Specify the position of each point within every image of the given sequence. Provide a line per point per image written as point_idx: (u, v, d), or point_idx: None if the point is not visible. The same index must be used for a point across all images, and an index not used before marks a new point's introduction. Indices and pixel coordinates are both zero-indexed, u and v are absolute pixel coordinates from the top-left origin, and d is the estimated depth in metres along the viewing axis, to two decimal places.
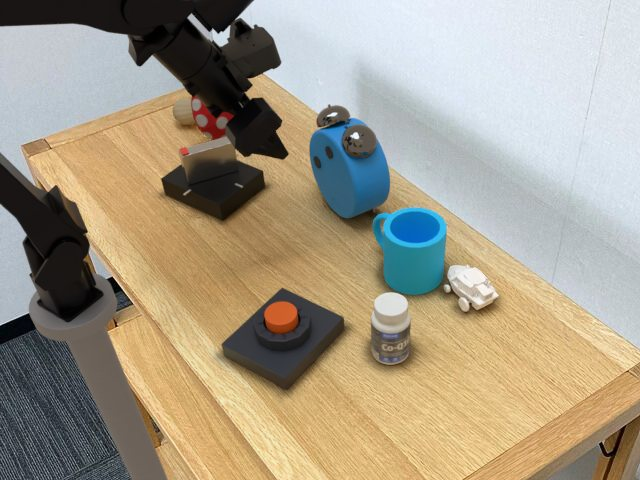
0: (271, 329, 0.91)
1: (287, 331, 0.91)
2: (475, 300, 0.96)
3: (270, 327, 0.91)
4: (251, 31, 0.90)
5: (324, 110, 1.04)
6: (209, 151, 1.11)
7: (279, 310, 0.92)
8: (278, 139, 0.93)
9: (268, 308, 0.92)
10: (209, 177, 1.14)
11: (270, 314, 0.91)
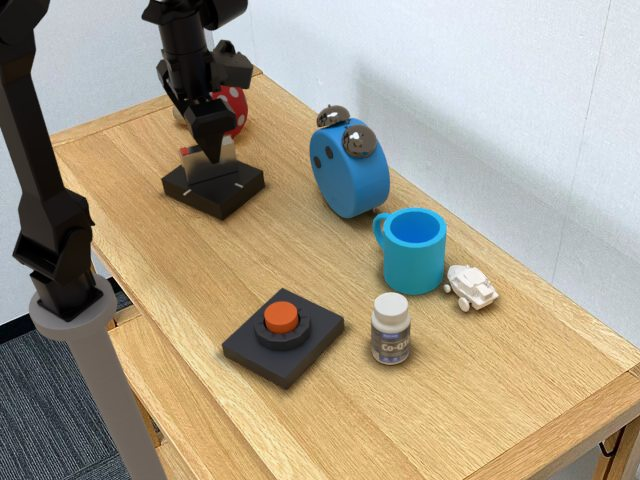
0: (271, 329, 0.91)
1: (287, 331, 0.91)
2: (475, 300, 0.96)
3: (270, 327, 0.91)
4: (235, 54, 1.06)
5: (324, 110, 1.04)
6: None
7: (279, 310, 0.92)
8: (220, 143, 1.05)
9: (268, 308, 0.92)
10: (209, 177, 1.14)
11: (270, 314, 0.91)
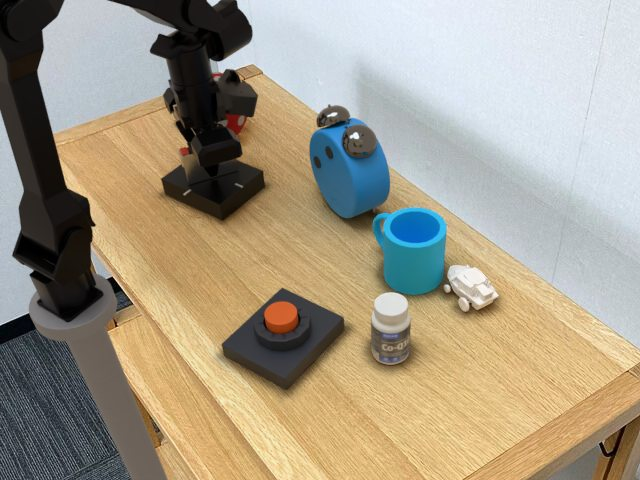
0: (271, 329, 0.91)
1: (287, 331, 0.91)
2: (475, 300, 0.96)
3: (270, 327, 0.91)
4: (240, 83, 1.09)
5: (324, 110, 1.04)
6: None
7: (279, 310, 0.92)
8: None
9: (268, 308, 0.92)
10: (209, 177, 1.14)
11: (270, 314, 0.91)
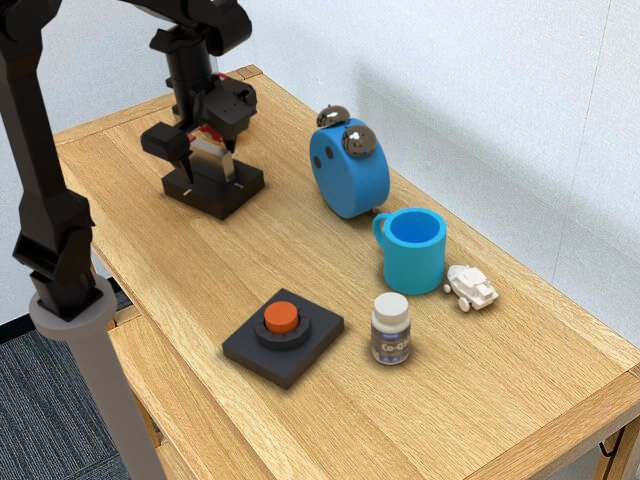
0: (271, 329, 0.91)
1: (287, 331, 0.91)
2: (475, 300, 0.96)
3: (270, 327, 0.91)
4: (244, 105, 1.03)
5: (324, 110, 1.04)
6: (202, 151, 1.11)
7: (279, 310, 0.92)
8: (184, 168, 1.08)
9: (268, 308, 0.92)
10: (203, 174, 1.14)
11: (270, 314, 0.91)
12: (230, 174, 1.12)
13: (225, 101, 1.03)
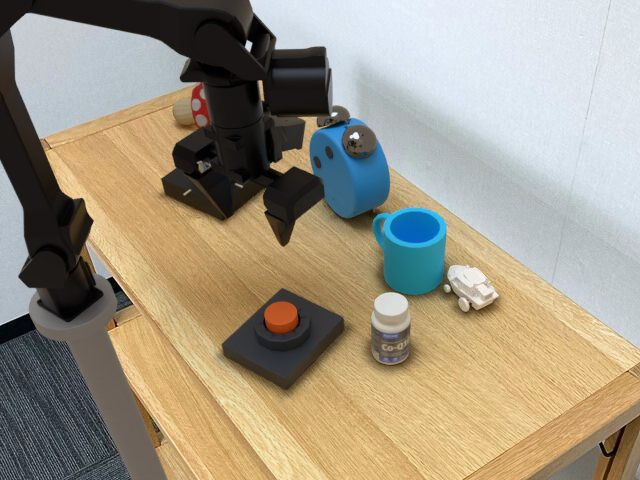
0: (271, 329, 0.91)
1: (287, 331, 0.91)
2: (475, 300, 0.96)
3: (270, 327, 0.91)
4: None
5: None
6: None
7: (279, 310, 0.92)
8: None
9: (268, 308, 0.92)
10: None
11: (270, 314, 0.91)
12: None
13: None
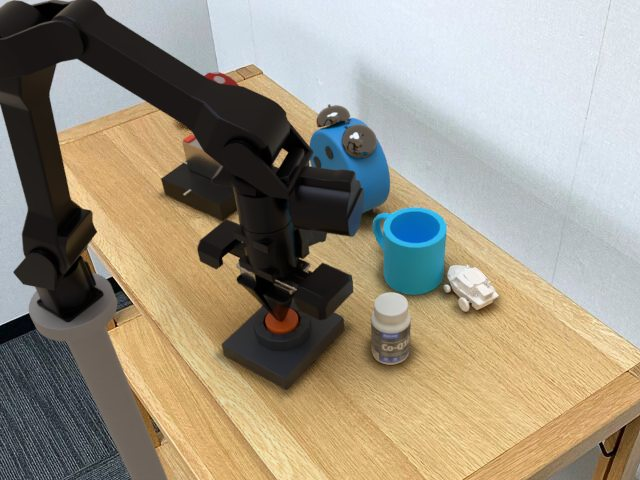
0: None
1: None
2: (475, 300, 0.96)
3: None
4: None
5: (324, 110, 1.04)
6: (202, 151, 1.11)
7: None
8: None
9: (269, 314, 0.93)
10: (203, 174, 1.14)
11: (271, 320, 0.92)
12: None
13: None
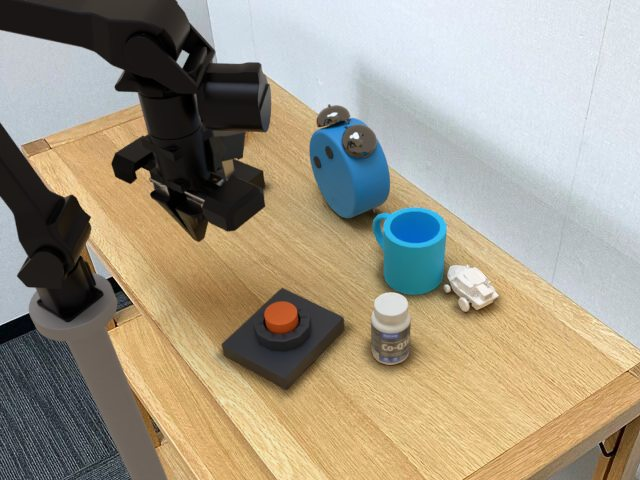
0: (271, 329, 0.91)
1: (287, 331, 0.91)
2: (475, 300, 0.96)
3: (270, 327, 0.91)
4: None
5: (324, 110, 1.04)
6: None
7: (279, 310, 0.92)
8: None
9: (268, 308, 0.92)
10: None
11: (270, 314, 0.91)
12: (230, 174, 1.12)
13: None
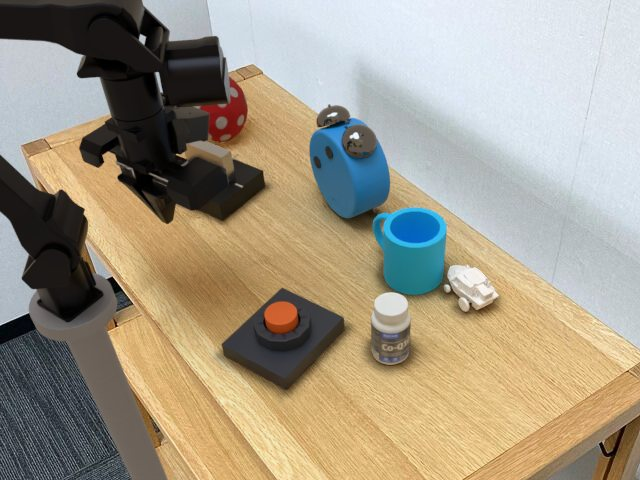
0: (271, 329, 0.91)
1: (287, 331, 0.91)
2: (475, 300, 0.96)
3: (270, 327, 0.91)
4: None
5: (324, 110, 1.04)
6: (202, 151, 1.11)
7: (279, 310, 0.92)
8: None
9: (268, 308, 0.92)
10: None
11: (270, 314, 0.91)
12: (230, 174, 1.12)
13: (173, 111, 0.87)
